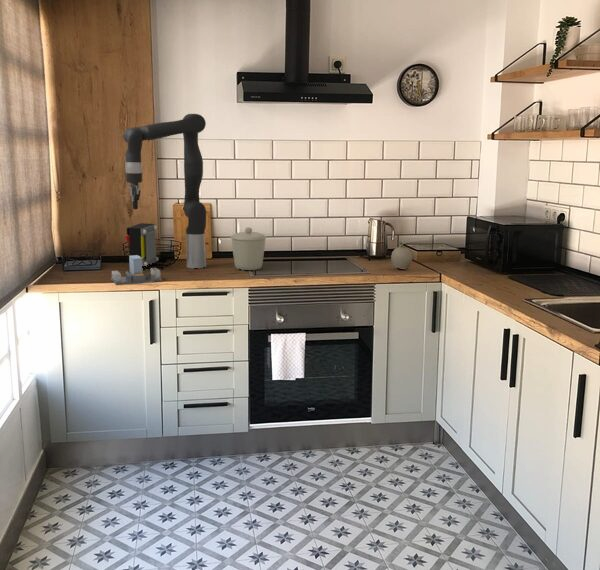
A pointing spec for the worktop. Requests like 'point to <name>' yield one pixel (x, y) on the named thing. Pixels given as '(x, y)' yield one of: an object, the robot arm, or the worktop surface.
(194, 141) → the robot arm
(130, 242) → the electrical component
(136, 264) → the pale blue upright block
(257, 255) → the canister
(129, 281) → the rack
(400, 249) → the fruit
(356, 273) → the worktop surface
